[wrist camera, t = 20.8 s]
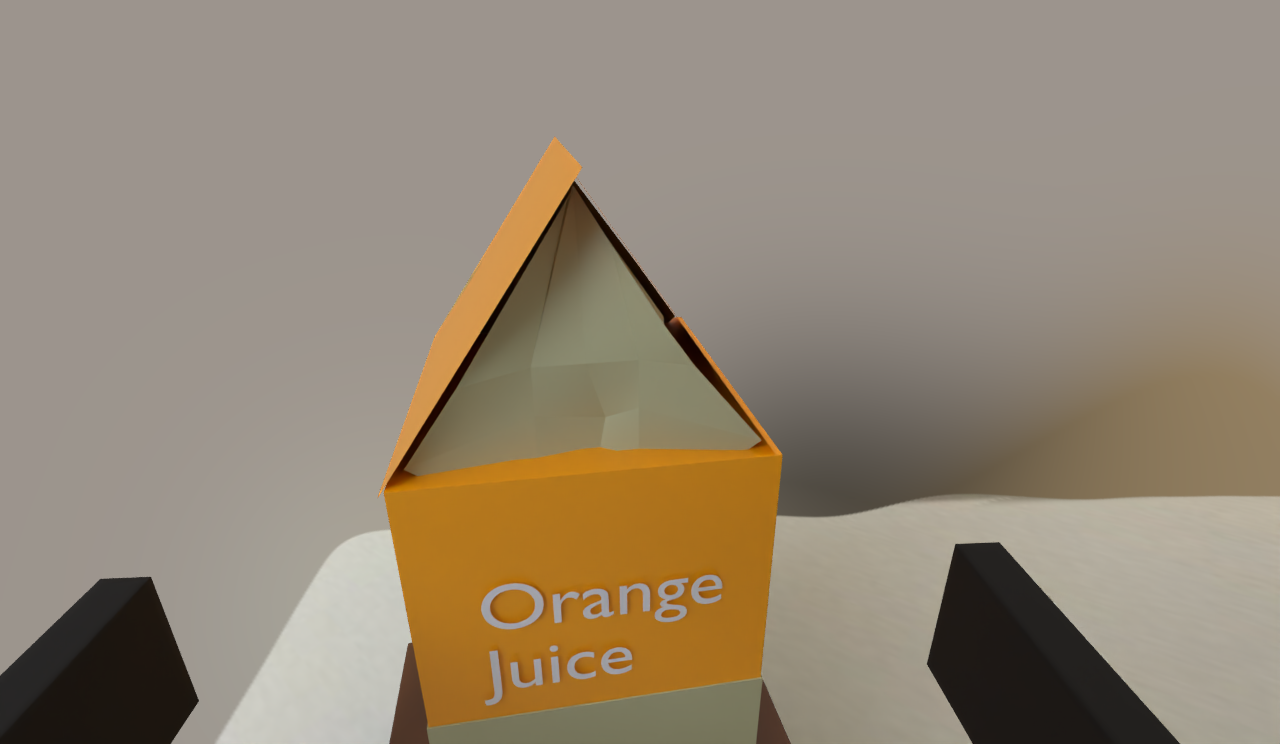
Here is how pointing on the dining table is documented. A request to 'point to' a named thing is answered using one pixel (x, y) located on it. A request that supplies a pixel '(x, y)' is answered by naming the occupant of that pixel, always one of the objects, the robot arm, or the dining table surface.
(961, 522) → the dining table surface
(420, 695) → the stand
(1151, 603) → the dining table surface
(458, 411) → the orange juice
